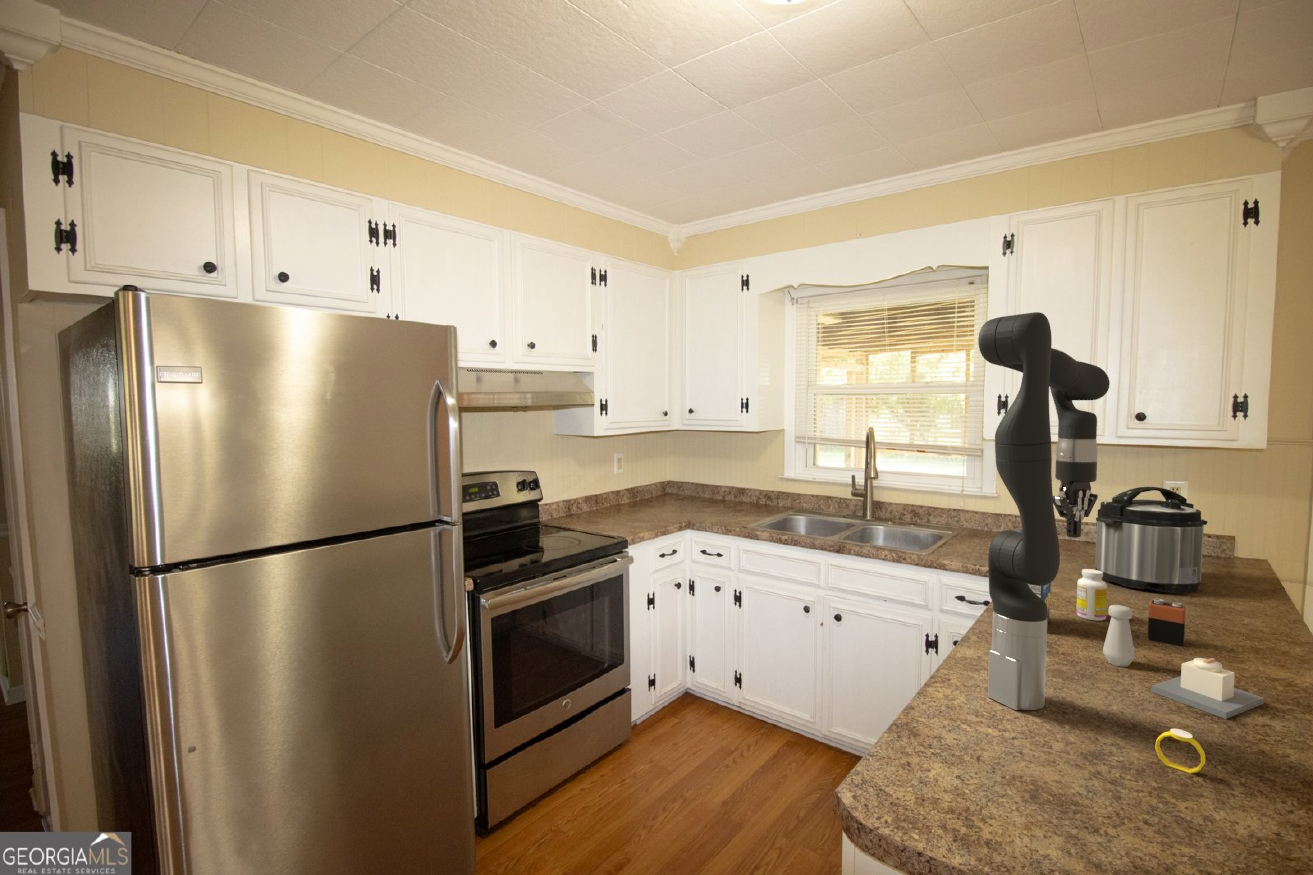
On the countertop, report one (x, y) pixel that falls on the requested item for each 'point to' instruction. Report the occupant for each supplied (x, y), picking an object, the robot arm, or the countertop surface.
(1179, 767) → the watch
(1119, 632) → the salt shaker
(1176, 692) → the plate
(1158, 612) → the battery
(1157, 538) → the pressure cooker
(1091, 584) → the supplement bottle
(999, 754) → the countertop surface
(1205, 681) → the knob
